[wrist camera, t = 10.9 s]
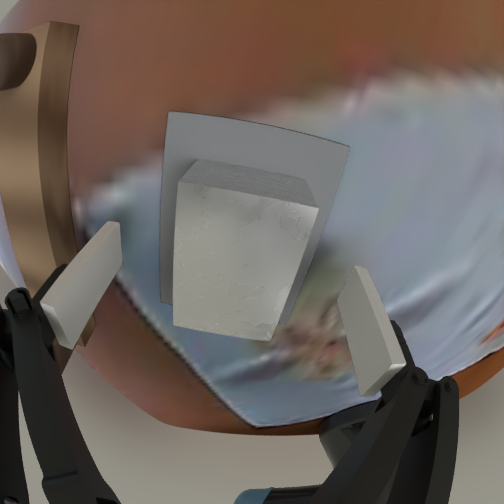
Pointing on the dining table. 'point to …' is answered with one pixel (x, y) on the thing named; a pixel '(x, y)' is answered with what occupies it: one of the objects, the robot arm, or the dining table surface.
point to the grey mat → (254, 156)
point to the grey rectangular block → (237, 247)
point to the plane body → (38, 154)
